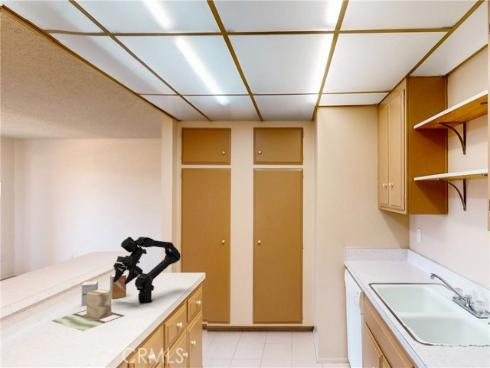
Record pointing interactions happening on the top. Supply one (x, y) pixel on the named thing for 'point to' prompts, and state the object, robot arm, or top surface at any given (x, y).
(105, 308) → the birch block
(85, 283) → the supplement box
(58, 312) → the top surface
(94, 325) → the lane board
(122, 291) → the small box
